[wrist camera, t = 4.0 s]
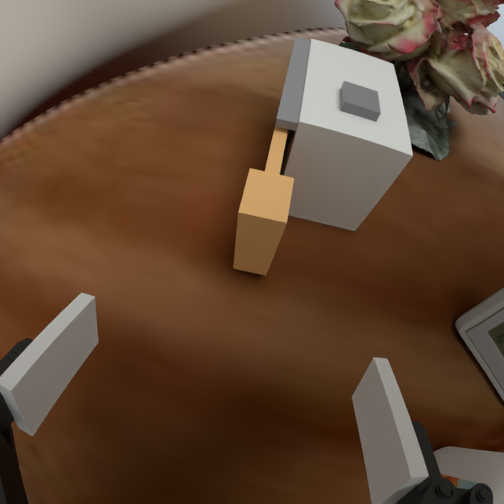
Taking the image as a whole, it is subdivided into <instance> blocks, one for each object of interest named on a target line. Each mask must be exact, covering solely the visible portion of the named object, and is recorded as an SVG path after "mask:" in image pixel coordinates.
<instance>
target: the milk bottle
mask: <svg viewBox="0 0 504 504" xmlns="http://www.w3.org/2000/svg"><path fill="white" fill-rule="evenodd" d="M434 455H435V458H436V461H437V464H438V467H439V470H440V473H441V476H442V478H446V479H449V480H450V481H451V482H452V483H453V484H454V486H455V487H456V488H463V489H471V488H472V487H473V486H474V485H476V484H478V483H484V484H486V485H488V486H489V487H490V488H491V490H492V492H493V504H504V453H500V452H491V451H482V450H474V449H467V448H460V447H451V446H448V447H443V448H440V449H438V450H436V451H434Z"/></svg>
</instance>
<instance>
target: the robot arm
mask: <svg viewBox="0 0 504 504" xmlns="http://www.w3.org/2000/svg"><path fill="white" fill-rule="evenodd" d="M98 342H99V341H98V331H97V319H96V305H95V297H94V296H91V295H88V294H84V293H81V294H80V295H79V296H78V297H77V298H76V299H75V300H73V301H72V302H71V303H70V304H69V305H68V306H67V307H66V308H65V309H64V310H63V311H62V312H61V313H60V314H59V315H58V316H57V317H56V318H55V319H54V320H53V321H52V322H51V323H50V324H49V325H48V326H47V327H46V328H45V329H44V330H43V331H42V332H41V333H40V334H39V335H38V336H37V337H36V338H35V340H34V341H33V340H31V339H29V338H26V339H24V340H22V341H20V342H18V343H17V344H16V345H15V346H14V347H13V348H12V349H11V351H9V352H8V353H7V354H6V355H5V357H3V358H2V359H1V361H0V504H29V503H28V500H27V496H26V493H25V489H24V485H23V481H22V477H21V473H20V469H19V464H18V459H17V454H16V449H15V443H14V437H13V431H12V427H11V423H12V422H13V420H15V422H16V424H17V426H18V428H20V429H21V430H23V431H25V432H26V433H28V434H30V435H31V436H33V435H34V434H35V432H36V431H37V429H38V428H39V426H40V425H41V423H42V422H43V420H44V419H45V417H46V416H47V414H48V413H49V411H50V410H51V408H52V407H53V405H54V404H55V402H56V401H57V399H58V398H59V396H60V395H61V394H62V392H63V391H64V389H65V388H66V386H67V385H68V384H69V382H70V381H71V379H72V378H73V377H74V375H75V374H76V372H77V371H78V370H79V368H80V367H81V365H82V364H83V363H84V361H85V360H86V358H87V357H88V356H89V354H90V353H91V352H92V350H93V349H94V348H95V346H96V345H97V344H98ZM352 401H353V406H354V410H355V415H356V420H357V425H358V430H359V435H360V440H361V445H362V450H363V455H364V461H365V466H366V472H367V478H368V484H369V490H370V496H371V502H372V504H395V503H398V504H493V492H492V490H491V488H490V487H489V486H488V485H486V484H484V483H478V484H476V485H474V486H473V487H472V488H471V489H463V488H456V487H455V486H454V484H453V483H452V482H451V481H450V480H449V479H446V478H442V476H441V473H440V470H439V467H438V464H437V461H436V458H435V455H434V452H433V449H431V448H432V446H431V444H430V442H429V438H428V435H427V433H426V430H425V429H424V428H423V426H422V425H421V424H420V423H419V422H411V420H410V417H409V414H408V411H407V408H406V406H405V403H404V400H403V398H402V395H401V392H400V390H399V387H398V384H397V382H396V379H395V377H394V374H393V372H392V369H391V366H390V364H389V362H388V359H385V358H376V357H373V359H372V361H371V363H370V365H369V367H368V369H367V370H366V372H365V374H364V376H363V378H362V380H361V381H360V383H359V385H358V387H357V388H356V390H355V392H354V394H353V395H352Z"/></svg>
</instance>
